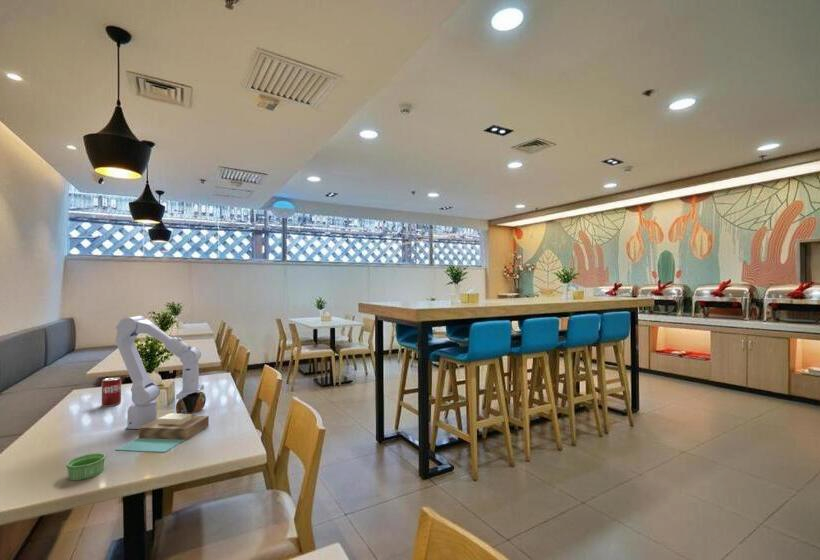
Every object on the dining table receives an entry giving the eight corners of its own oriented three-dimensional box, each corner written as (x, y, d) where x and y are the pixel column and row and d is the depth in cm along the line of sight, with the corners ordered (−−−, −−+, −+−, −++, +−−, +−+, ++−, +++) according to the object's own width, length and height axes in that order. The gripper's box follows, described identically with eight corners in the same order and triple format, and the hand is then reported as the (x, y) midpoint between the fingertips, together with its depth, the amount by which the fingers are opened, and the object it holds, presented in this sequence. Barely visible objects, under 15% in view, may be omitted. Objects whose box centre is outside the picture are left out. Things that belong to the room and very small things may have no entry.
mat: (115, 450, 132) (115, 449, 132) (138, 438, 142) (138, 437, 142) (164, 452, 130) (164, 451, 130) (184, 440, 140) (184, 439, 140)
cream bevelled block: (158, 423, 146) (158, 418, 146) (169, 418, 152) (169, 413, 152) (181, 424, 145) (181, 419, 145) (191, 419, 151) (191, 413, 151)
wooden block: (138, 438, 142) (138, 427, 142) (166, 424, 156) (166, 414, 156) (185, 440, 141) (185, 429, 141) (208, 425, 155) (208, 415, 155)
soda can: (123, 403, 183) (124, 378, 183) (105, 407, 177) (105, 381, 177) (117, 401, 187) (117, 376, 187) (98, 405, 181) (99, 379, 181)
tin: (180, 419, 162) (180, 399, 162) (174, 418, 163) (174, 398, 163) (206, 408, 177) (206, 389, 177) (200, 407, 178) (200, 389, 178)
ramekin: (112, 466, 121) (112, 451, 121) (93, 480, 112) (93, 465, 112) (79, 468, 120) (80, 453, 120) (58, 483, 111) (58, 467, 111)
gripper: (188, 383, 150) (188, 418, 150) (210, 374, 164) (210, 406, 164) (171, 382, 151) (170, 418, 150) (195, 374, 165) (194, 406, 165)
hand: (190, 412), depth 157 cm, fingers closed
